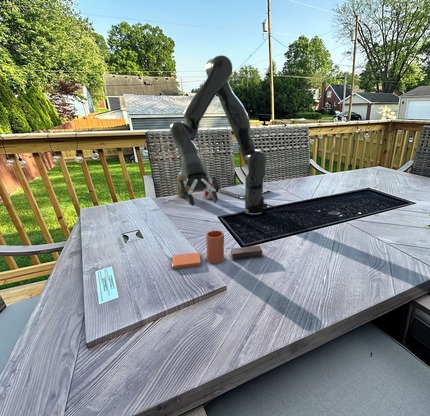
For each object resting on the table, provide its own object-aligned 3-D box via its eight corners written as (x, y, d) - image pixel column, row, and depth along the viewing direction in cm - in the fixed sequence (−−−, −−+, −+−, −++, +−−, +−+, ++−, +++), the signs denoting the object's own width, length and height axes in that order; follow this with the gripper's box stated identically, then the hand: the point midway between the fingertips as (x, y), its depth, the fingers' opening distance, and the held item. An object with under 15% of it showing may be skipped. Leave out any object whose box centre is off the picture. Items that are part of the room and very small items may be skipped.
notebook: (250, 185, 194) (219, 191, 174) (250, 182, 193) (219, 188, 173) (271, 191, 181) (241, 199, 161) (271, 188, 180) (241, 195, 160)
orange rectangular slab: (199, 255, 96) (199, 252, 95) (200, 265, 89) (200, 262, 89) (173, 258, 93) (173, 255, 92) (172, 268, 87) (172, 265, 86)
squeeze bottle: (193, 195, 164) (192, 166, 158) (185, 198, 157) (183, 169, 151) (182, 193, 166) (180, 165, 160) (174, 196, 159) (172, 167, 153)
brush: (259, 251, 100) (259, 245, 99) (262, 257, 97) (262, 250, 96) (230, 255, 97) (230, 248, 96) (232, 260, 93) (232, 253, 92)
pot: (222, 254, 97) (222, 229, 94) (225, 262, 92) (224, 236, 89) (206, 256, 95) (205, 231, 92) (207, 264, 90) (206, 238, 87)
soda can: (212, 200, 157) (212, 180, 153) (202, 198, 158) (201, 179, 154) (217, 196, 163) (217, 178, 159) (207, 195, 165) (206, 177, 161)
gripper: (175, 162, 95) (187, 201, 91) (212, 160, 103) (225, 196, 98) (173, 173, 101) (184, 210, 97) (208, 170, 109) (220, 205, 104)
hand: (204, 203), depth 97 cm, fingers open, 8 cm apart
